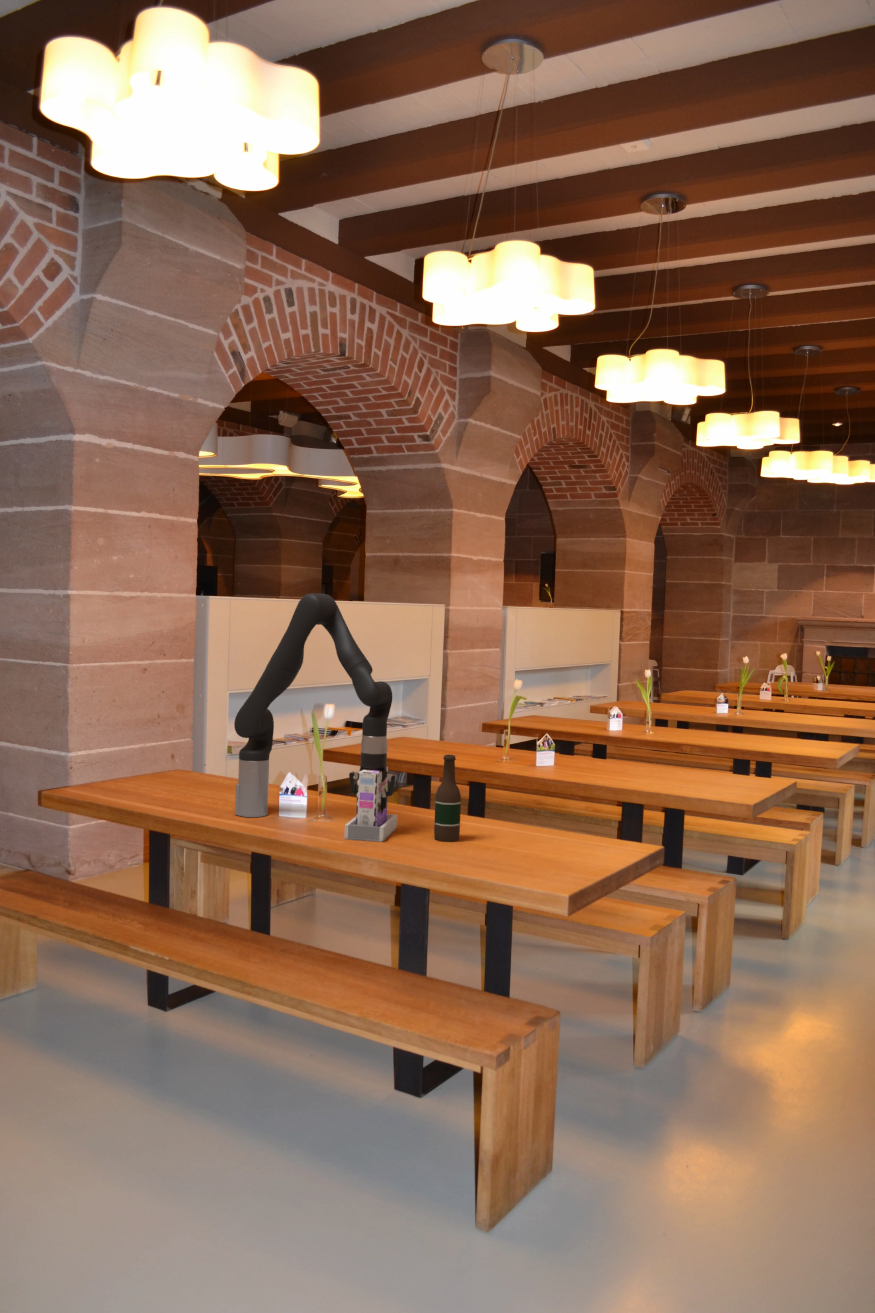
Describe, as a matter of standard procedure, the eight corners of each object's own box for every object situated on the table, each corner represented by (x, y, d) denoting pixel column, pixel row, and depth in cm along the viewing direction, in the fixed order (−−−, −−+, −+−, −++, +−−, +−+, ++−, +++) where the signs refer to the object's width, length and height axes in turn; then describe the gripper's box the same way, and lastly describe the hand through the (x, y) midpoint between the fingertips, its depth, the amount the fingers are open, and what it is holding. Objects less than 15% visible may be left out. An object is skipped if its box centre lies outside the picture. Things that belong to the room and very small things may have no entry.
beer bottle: (428, 836, 284) (431, 753, 283) (453, 835, 287) (456, 753, 286) (439, 842, 277) (442, 757, 276) (464, 841, 280) (467, 757, 279)
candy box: (375, 831, 278) (377, 772, 278) (355, 829, 280) (356, 771, 279) (387, 821, 292) (389, 765, 291) (368, 820, 293) (369, 764, 292)
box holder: (344, 839, 277) (344, 825, 277) (360, 825, 296) (361, 812, 296) (382, 842, 275) (383, 827, 275) (396, 828, 294) (397, 814, 294)
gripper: (346, 751, 282) (344, 809, 283) (395, 754, 280) (393, 813, 281) (352, 748, 290) (350, 805, 290) (401, 750, 287) (398, 808, 288)
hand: (371, 808), depth 285 cm, fingers closed on candy box, 6 cm apart
